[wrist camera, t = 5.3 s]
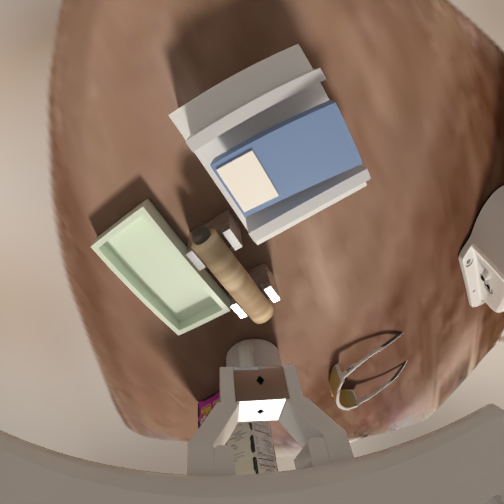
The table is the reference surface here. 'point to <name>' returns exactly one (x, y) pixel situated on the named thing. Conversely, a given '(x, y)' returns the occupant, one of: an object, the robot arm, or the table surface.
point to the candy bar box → (246, 442)
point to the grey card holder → (256, 121)
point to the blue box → (287, 158)
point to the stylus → (231, 273)
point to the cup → (253, 355)
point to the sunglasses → (348, 397)
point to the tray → (160, 269)
